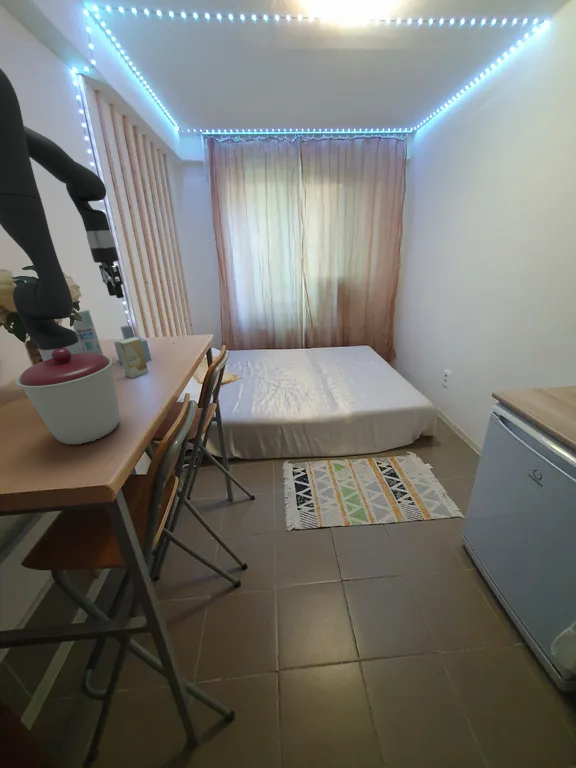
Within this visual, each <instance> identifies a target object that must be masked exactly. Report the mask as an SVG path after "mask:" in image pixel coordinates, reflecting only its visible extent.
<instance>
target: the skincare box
mask: <svg viewBox="0 0 576 768" xmlns="http://www.w3.org/2000/svg"><path fill="white" fill-rule="evenodd" d="M135 337H136V336H134V337H133V338H129V339H125V340H124V339H120V340H121V341H119V340H116V341H117V345H118V349H119V352H120V356H121V360H122V363H123V365H122V366H123V370H124V373H125V377H129V378H130V379H134V378H137V377H138V376H142V375H145V374H148V373H149V369H148V365H147V361H146V360H145V356H144V352H143V348H142V344H141V340H140V339H139V338H135Z"/></svg>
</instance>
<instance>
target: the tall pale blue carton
mask: <svg viewBox="0 0 576 768" xmlns="http://www.w3.org/2000/svg"><path fill="white" fill-rule="evenodd" d="M79 309H80V310H79V311H78V314H79V315H80V316H81V317H82V319H83V320H82V321H75V322H74V323H73V325H72V327H73V331H75V333H76V334H77V337H78V340H79V343H80V345H81V348H82V351H83V353H97V354H101V355H104V353H103V351H102V350H103V349H102V347H101V345H100V341H99V337H98V335H97V331H96V328H95V325H94V322H93V317H92V315H91V311H90V309H89V308H79Z"/></svg>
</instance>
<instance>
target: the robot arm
mask: <svg viewBox="0 0 576 768" xmlns="http://www.w3.org/2000/svg"><path fill="white" fill-rule="evenodd" d="M22 115H23V114H22V110H21V106H20V102H19V100H18V95H17V93H16V91H15V87H13V84H12V82H11V80H10V78H9V77H8V76H7V74H6V73H5V72H4V70H2V68H1V67H0V226H1V227H2V228H3V230H4V231H5V233H7V235H8V236H9V237H10V238H12V240H13V241H14V242H15V243H16V244H17V245H18V247H20V248H21V249H22V251H23V252H24V253H25V254H26V255H27V257H28V258H29V260H30V261H31V264H32V265H33V267H34V269H35V272H36V274H37V279H38V281H29V282H28V281H27V282H21V283H19V284H17V285H16V286H15V287H14V289H13V292H12V301H13V303H14V308H15V309H16V312H17V314H18V316H19V318H20V320H21V322H22V324H23V326H24V329H25V330H26V332H27V334H28V336H29V338H30V339H31V340H32V341H33V342H34V343H35V344H36V347H37V349H38V350H39V354H40V356H41V358H42V362H43V361H46V360H49V359H52V357H51V354H52V352H53V351H54V350H56V349H59V348H66V349H68V350H69V351H70V352H71V354H78V353H83V351H82V348H81V345H80V343H79V340H78V337H77V334H76V333H75V330H74V329H71V328H67V327H64V326H62V325H60V324H58V323H57V322H56V320H62V319H68V318H70V317H69V316H70V315H71V314H72V311H73V310H74V302H73V296H72V294H71V290H70V287H69V285H68V282H67V279H66V277H65V274H64V272H63V270H62V267H61V264H60V262H59V258H58V256H57V252H56V248H55V246H54V242H53V239H52V236H51V233H50V229H49V224H48V220H47V219H48V218H47V216H46V212H45V208H44V205H43V202H42V199H41V195H40V191H39V187H38V186H37V181H36V177H35V174H34V169H33V166H32V162H31V159H32V160H33V161H34V162H36V163H37V164H38V165H40V166H41V167H43V169H44V170H46V171H47V172H48V173H50V174H51V175H52V176H53V177H54V178H55V179H57V180H58V181H59V182H61V183H63V184H65V188H66V189H65V190H66V191H67V194H68V196H69V198H70V199H71V201H72V202H73V204H74V206H75V208H76V210H77V212H78V214H79V215H80V217H81V219H82V223H83V226H84V229H85V233H86V238H87V242H88V246H89V251H90V253H91V257H92V260H93V262H94V263H96V264H97V263H98V268H99V271H100V275H101V277H102V282H103V284H104V285H105V286H106V288H107V292H108V295H109V296H110V297H113V296H116V298H117V299H122V298H124V297H125V296H124V292H123V288H122V286H123V284H124V282H123V279H122V276H121V271H120V267H119V266H118V265H117V264H116V265H115V263H114V262H118V261H119V260H120V258H119V255H118V250H117V248H116V244H115V240H114V239H115V238H114V237H113V235H112V231H111V228H110V224H109V220H108V218H107V214H106V212H104V211H103V210H101V209H94V208H92V206H91V205H90V203H89V202H99V201H102V200H104V199H105V198H106V197H107V196H106V195H107V188H106V185H105V184H104V182H103V180H102V179H101V177H100V176H99V175H98V174H96V173H95V172H93V170H90V169H89V168H87V167H85V166H84V165H82V164H81V163H79V162H77V161H75V160H74V159H73V158H72V157H71V156H70V155H69V154H68V153H67V152H66V151H65V150H64V149H63V148H61V146H59V145H58V144H57V143H56V142H54V141H52V140H51V139H50V138H48V137H47V136H45V135H43V134H41V133H39V132H37V131H35V130H33V129H32V128H29V127H27V126H26V125H24V120H23V116H22Z"/></svg>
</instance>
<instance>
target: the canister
mask: <svg viewBox="0 0 576 768" xmlns="http://www.w3.org/2000/svg"><path fill="white" fill-rule="evenodd" d="M51 357H52V359H49V360H46V361H43V360H42V361H40V362H38V363H35V364H34V365H31V366H30V367H28V368H27V369H25V370H24V371H23V372H22V373H21V374H20V375H19V376H18V377H17V378H16V379H15V381H14V382H15V384H16V386H18V387H19V388H21V389H23V391H24V392H25V394H26V396H27V398H28V399H29V400H30V402H31V404H32V406H33V407H34V408H35V410H36V412H37V413H38V415H39V416H40V418H41V419H42V420H43V423H44V424H45V425H46V427H47V429H48V431H50V433H51V434H52V435H53V437H54V438H55V439H56V440H57V441H58V442H61V443H63V444H66V445H71V444H73V445H75V444H76V445H83V444H82V443H84V444H87V442H89V443H91V442H94V441H97V440H96V439H98V440H99V439H102V438H104V437H105V435H106V436H107V435H109V434H110V433H111V432H113V429H114V430H115V429H116V427H117V426H118V424H119V420H120V410H119V403H118V397H117V390H116V386H115V381H114V380H115V379H114V374H113V369H112V365H113V362H114V361H113V358H112V357H111V356H108V355H104V354H103V355H101V354H97V353H78V354H71V352H70V351H69V350H68V349H66V348H59V349H56V350H54V351H53V352H52V354H51ZM101 437H102V438H101ZM90 441H91V442H90Z"/></svg>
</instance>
